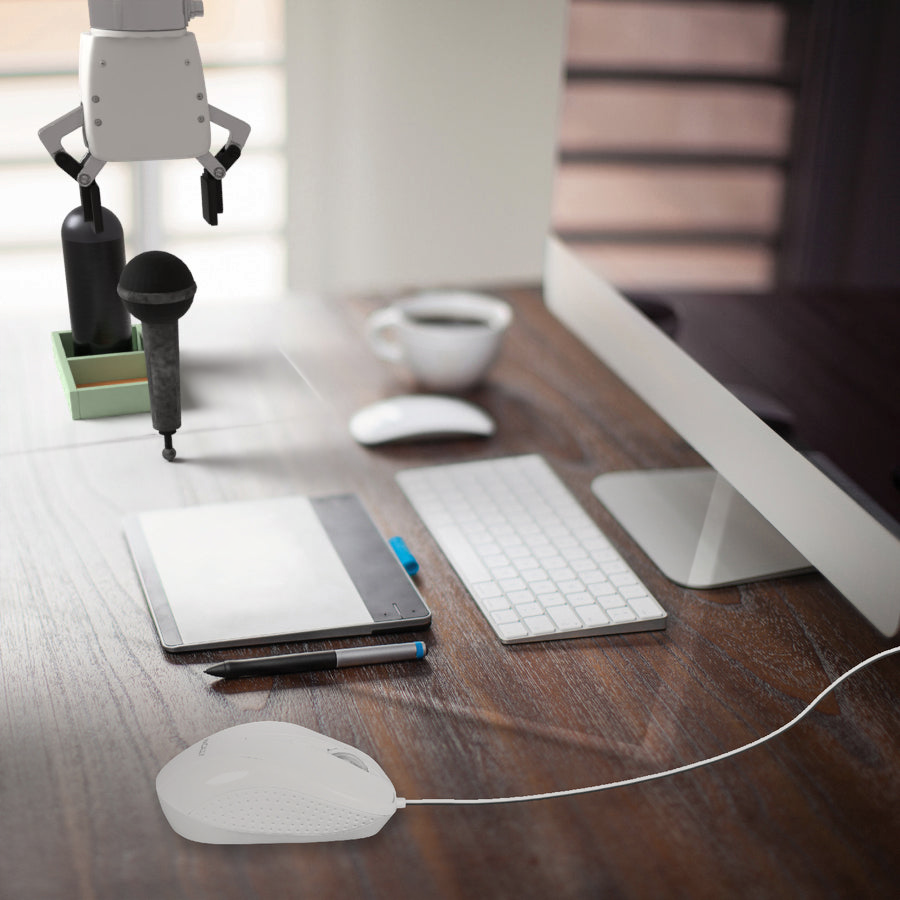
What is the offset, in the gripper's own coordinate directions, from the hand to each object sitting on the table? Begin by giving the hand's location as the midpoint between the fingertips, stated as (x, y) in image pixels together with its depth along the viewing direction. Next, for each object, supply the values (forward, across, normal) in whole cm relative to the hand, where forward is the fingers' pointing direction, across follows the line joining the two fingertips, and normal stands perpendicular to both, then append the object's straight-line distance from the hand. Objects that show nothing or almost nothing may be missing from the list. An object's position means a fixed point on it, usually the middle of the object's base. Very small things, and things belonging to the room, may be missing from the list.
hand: (154, 226), depth 99 cm
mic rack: (+22, +3, -21) cm, 30 cm away
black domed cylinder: (+22, +3, -25) cm, 34 cm away
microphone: (+22, 0, 0) cm, 22 cm away
